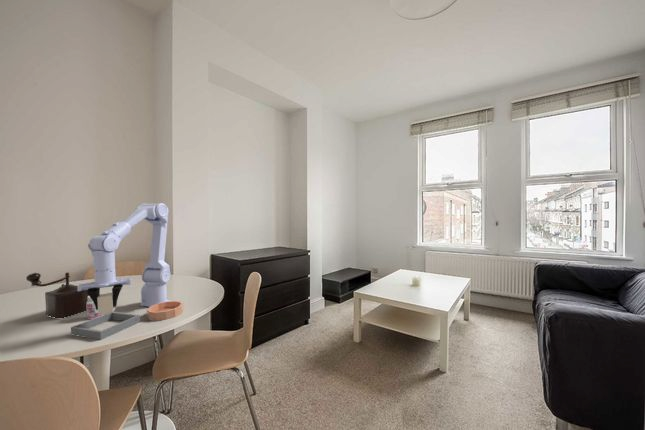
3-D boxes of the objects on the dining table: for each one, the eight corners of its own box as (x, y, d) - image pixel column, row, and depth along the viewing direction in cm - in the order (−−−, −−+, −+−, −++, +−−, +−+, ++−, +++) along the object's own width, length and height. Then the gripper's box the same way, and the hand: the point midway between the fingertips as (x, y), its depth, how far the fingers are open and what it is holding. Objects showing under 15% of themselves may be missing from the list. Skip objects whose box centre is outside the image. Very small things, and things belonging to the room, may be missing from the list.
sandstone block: (98, 314, 90) (97, 297, 90) (101, 310, 94) (100, 294, 94) (112, 312, 92) (112, 295, 92) (115, 308, 96) (114, 292, 96)
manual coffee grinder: (76, 306, 115) (74, 265, 114) (91, 309, 111) (89, 267, 110) (26, 320, 100) (23, 273, 100) (41, 325, 96) (38, 276, 96)
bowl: (140, 318, 101) (139, 310, 101) (166, 306, 112) (166, 299, 112) (165, 321, 98) (164, 313, 98) (189, 309, 109) (189, 302, 109)
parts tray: (71, 334, 89) (70, 327, 89) (113, 318, 102) (112, 311, 102) (100, 339, 85) (100, 332, 85) (140, 321, 98) (140, 315, 98)
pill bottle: (85, 320, 100) (84, 298, 100) (89, 315, 104) (88, 294, 104) (101, 317, 102) (100, 296, 102) (104, 313, 106) (103, 292, 106)
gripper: (73, 274, 86) (75, 316, 86) (128, 268, 93) (130, 307, 93) (80, 270, 92) (82, 308, 92) (131, 265, 99) (133, 300, 99)
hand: (106, 307), depth 93 cm, fingers closed on sandstone block, 4 cm apart
